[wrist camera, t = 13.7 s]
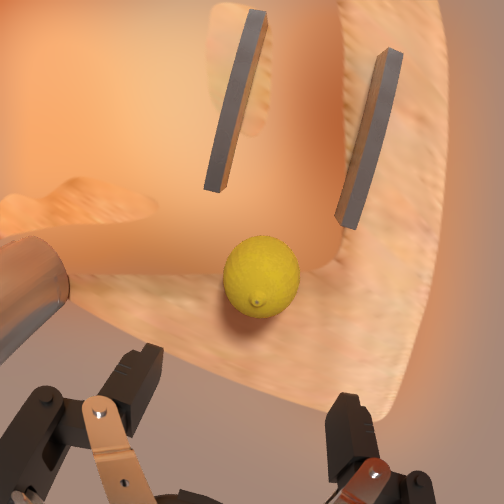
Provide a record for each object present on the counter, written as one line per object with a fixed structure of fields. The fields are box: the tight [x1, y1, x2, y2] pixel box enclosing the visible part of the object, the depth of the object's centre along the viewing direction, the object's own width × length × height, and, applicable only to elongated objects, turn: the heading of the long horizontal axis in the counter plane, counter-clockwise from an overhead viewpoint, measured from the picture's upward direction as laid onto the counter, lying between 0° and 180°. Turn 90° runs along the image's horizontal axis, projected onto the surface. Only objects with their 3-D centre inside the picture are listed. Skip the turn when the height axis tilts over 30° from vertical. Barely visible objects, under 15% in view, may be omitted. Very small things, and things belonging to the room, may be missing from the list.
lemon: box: [223, 236, 300, 318], centre depth 23 cm, size 6×6×8 cm
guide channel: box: [204, 9, 403, 230], centre depth 21 cm, size 11×14×3 cm
